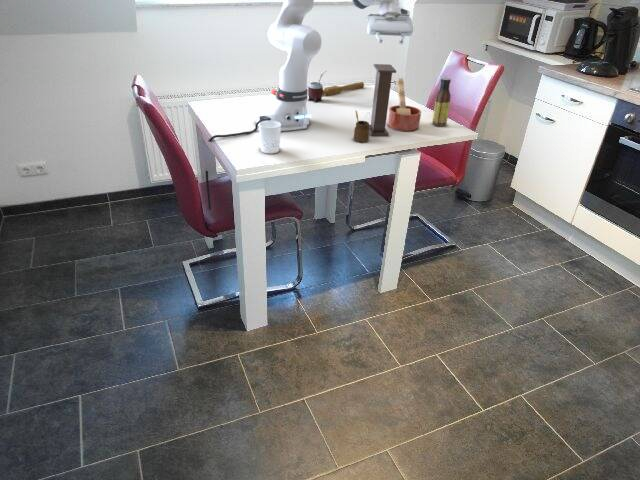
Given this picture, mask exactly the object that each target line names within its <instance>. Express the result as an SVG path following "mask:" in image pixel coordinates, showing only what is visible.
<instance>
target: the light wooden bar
mask: <svg viewBox="0 0 640 480" xmlns="http://www.w3.org/2000/svg"><path fill="white" fill-rule="evenodd" d="M396 84H397V94H398V95H397V96H398V105H399V107H400V108H397V109H396V113H399V114H404V115H411V111H410V109H408V108H406V106H407V104H406V95H405V93H406V92H405V84H404V78H403V77H397V80H396Z"/></svg>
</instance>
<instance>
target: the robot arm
mask: <svg viewBox="0 0 640 480" xmlns="http://www.w3.org/2000/svg"><path fill="white" fill-rule="evenodd" d="M351 1H352V3H353V5H354V6H355V7H356V8H358V9H360V10H365V9H366V8H368V7H370V6H371V5H373V4H375V3H378V4H379V6H378V13H369V14H368V15H366V23H367V29H366V33H367V34H368V35H369V36H375V39H377V42H378V43H377V44H382V43H383V37H381V36H392V37H393V36H394V37H396V36H397V37H400V38H399V40H398V44H399V45H403V44H404V40H405V37H411V35H413V33H414V23H413V19H412V18H411V16H410V15H411V11H410V10H408V9H405V8H403V7H400V6H399V0H351ZM314 3H315V0H283V3H282V6H281V9H280V12H279V14H278V16H277V18H276V20H275V21H273V22H272V23H271V25H269V28H268V31H267V39H268V41H269V43H270V44H271V45H272V46H273V47H275V48H276V49H278V50H280V51H283V52H285V53H287V57H286V58H287V59H286V61H285V63H284V64H283V65H281V67H280V68H279V87H278V90H276V89H273V88H272V89H271V94H272V95H274V96H275V98H273V100H272V101H271V102H270V103H269V104H267V105H266V106H265V107H264V108H263V110H262V112H261V113H262V114H261V115H259V119H257V120H256V123H255V128H254V129H253V130H251V131H242V132H236V133H229V134H215V135H213V136H211V137H209V139H208V140H207V142H208V143H210V142H212V141H213V140H214V139H216V138H229V137H238V136H243V135H250V134H253V133H255V132H257V130H259V123H260V122H262V121H268V120H270V121H277V122H279V123H281V132H288V131H298V130H305V129H307V127H308V125H310V119H309V118H312V114H308V107H307V106H308V105H307V103H308V102H307V101H308V86H307V85H308V72H309V67H310V65H311V62H312V60H313V58H315V56H316V55H318V54H319V52H320V50H321V47H322V37H321V34H320V33H319V31H317V30H315V29H314V28H312V27H311V26H309V25H304V24H302V23H303V22H304V19H305V18H306V17H305V16H306V15H307V14H308V13H309V12H311V11H312V9H313V8H314ZM205 184H206V185H205V186H206V194H207V205H208V210H210V211H211V210H212V204H211V194H210V193H211V192H210V182H209V170H205Z"/></svg>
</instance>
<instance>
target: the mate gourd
mask: <svg viewBox="0 0 640 480" xmlns="http://www.w3.org/2000/svg"><path fill="white" fill-rule="evenodd" d="M326 72H327V70H325V71H323V72H322V73H320V75H319V79H318V82H317V81H314V82H313V81H312V82H310V83H309V84H308V86H307V90H308V94H307V97H308V101H311V102H312V101H313V102H314V103H317V102H318V101H319V102H321V101H322V97H323V96H322V94H323V90H324V87H323V85H322V83H321V79H322V77H323V75H324V74H325V73H326Z"/></svg>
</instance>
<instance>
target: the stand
mask: <svg viewBox="0 0 640 480" xmlns="http://www.w3.org/2000/svg"><path fill="white" fill-rule="evenodd" d="M372 65H373V68H374V69H375V70H376V72H375V80H374V81H375V82H374V90H373V100H372V110H371V116H370V117H371V118H370V124H369V135H370V136H371V137H388V136H389V132H388V131H387V129H386V123H387V119H388V111H389V102H390V93H391V85H392V77H393V74H396V73H397V70H396V69H395V67H394V66H393V65H392V64H386V63H385V64H383V63H373V64H372Z"/></svg>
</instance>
